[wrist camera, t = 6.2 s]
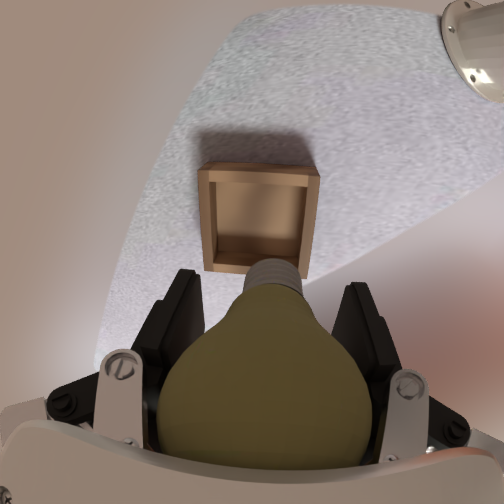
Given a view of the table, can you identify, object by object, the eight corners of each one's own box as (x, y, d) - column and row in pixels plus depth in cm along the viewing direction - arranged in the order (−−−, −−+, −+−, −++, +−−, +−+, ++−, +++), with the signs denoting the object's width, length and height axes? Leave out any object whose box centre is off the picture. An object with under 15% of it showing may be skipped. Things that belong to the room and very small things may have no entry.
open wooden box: (315, 167, 25) (320, 176, 22) (305, 260, 30) (306, 279, 27) (208, 161, 26) (197, 170, 23) (212, 253, 31) (204, 270, 28)
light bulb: (187, 268, 13) (96, 480, 4) (276, 187, 10) (265, 501, 2) (268, 333, 14) (253, 523, 6) (356, 276, 12) (416, 498, 3)
